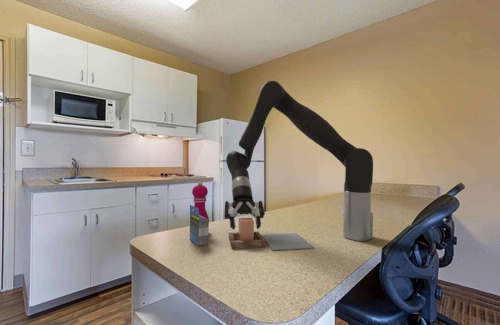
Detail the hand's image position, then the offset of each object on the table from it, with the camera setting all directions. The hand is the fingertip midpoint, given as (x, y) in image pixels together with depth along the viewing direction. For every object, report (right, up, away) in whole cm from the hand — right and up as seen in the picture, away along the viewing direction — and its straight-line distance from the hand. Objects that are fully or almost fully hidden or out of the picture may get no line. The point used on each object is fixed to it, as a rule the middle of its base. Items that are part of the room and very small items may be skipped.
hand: (246, 228), depth 84 cm
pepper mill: (-18, -5, +11) cm, 22 cm away
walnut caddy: (0, -5, 0) cm, 5 cm away
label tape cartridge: (-16, -5, 0) cm, 17 cm away
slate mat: (+14, -5, +2) cm, 15 cm away
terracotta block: (0, -5, 0) cm, 5 cm away
